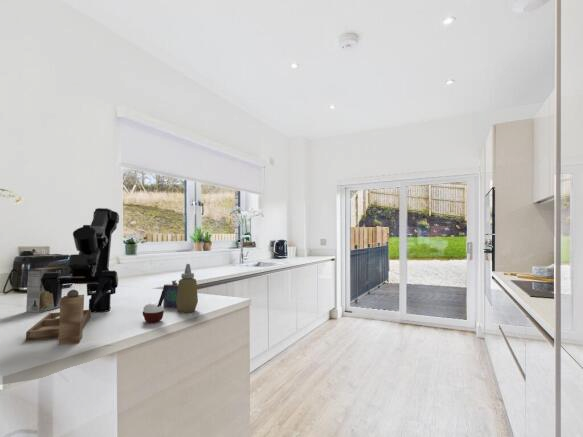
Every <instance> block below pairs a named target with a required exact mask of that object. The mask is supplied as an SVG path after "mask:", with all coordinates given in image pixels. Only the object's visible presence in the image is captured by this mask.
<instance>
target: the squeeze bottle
mask: <svg viewBox="0 0 583 437" xmlns="http://www.w3.org/2000/svg"><path fill="white" fill-rule="evenodd" d="M185 264H186V265H185V268H184V272H183V273H181V275H180V276H181V278H180V279H179V280H178V283H177V285H178V291H177V299H176V304H177V307H178V308H177V310H178V312H179V313H183V314H184V313H192V312H195V311H196V308H197V305H198V303H199V298H198V296H199V294H198V285H197V279H196V278H195V273H194V272H192V270H191V265H190V263H185Z"/></svg>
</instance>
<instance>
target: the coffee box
mask: <svg viewBox="0 0 583 437" xmlns="http://www.w3.org/2000/svg"><path fill="white" fill-rule="evenodd" d="M51 272H60V274H61V277H63V267H62V266H61V267H60V266H59V267H53V266H52V267H50V266H49V267H39V268H31V269H30V268H28V270H27V285H26V306H25V308H26V309H25V311H26V313H43V312H46V311H47V312H48V311H51V310H52V311H53V310H54V309H55V310H56V309H60V299H61V298H62V297H63V296H62V294H63V288H62V289H61V291H62V293H61V296H60V299H59V302H58V304H57V306H56V307H54V303H53V293H49V291H48V292H47V291H45V290H44V288H43V285H42V282H41V280H40V279H41V277H42V275H43V274H44V273H51Z"/></svg>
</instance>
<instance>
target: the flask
mask: <svg viewBox="0 0 583 437" xmlns="http://www.w3.org/2000/svg"><path fill="white" fill-rule="evenodd" d="M164 286H168V287H167V290H166V293H165V296H164V299H163V302H162V306H163V307H164V308H170V307H175V308H174V309H178V307H177V304H176V299H177V291H178V282H177V280H172V281H171V283H169V284H168V283H167V284H163V287H164Z"/></svg>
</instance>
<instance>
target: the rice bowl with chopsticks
mask: <svg viewBox="0 0 583 437" xmlns="http://www.w3.org/2000/svg"><path fill="white" fill-rule="evenodd" d="M167 287H168V286H164V285H163V287H162V290H161V294H160V298H159V300H158V302H154V301H153V302H149V303H148V304H145V305H144V306H143V310H142V316H143V318H144V321H145V322H146V323H147V324H156V323H159V322H160V321H162V319H163V317H164V314H165V307H164V306H163V300H164V296H165V293H166V290H167Z"/></svg>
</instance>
